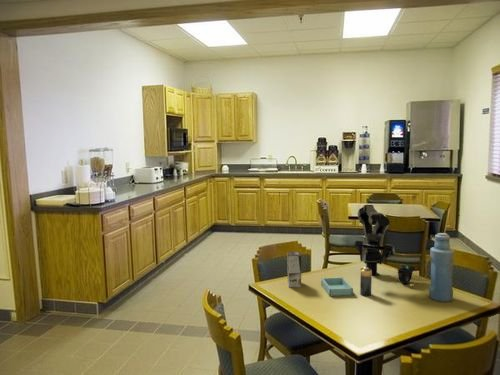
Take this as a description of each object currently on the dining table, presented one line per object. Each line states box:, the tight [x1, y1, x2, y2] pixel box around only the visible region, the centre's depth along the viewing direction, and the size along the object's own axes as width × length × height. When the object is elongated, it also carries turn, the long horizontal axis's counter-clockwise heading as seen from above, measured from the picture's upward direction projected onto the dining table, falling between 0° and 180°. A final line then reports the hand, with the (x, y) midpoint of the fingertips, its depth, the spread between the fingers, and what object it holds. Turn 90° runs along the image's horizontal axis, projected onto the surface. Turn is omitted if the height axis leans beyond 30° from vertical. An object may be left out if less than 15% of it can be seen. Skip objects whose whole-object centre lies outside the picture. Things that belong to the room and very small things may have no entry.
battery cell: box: [359, 266, 373, 297], centre depth 187 cm, size 5×5×13 cm
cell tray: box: [320, 276, 354, 297], centre depth 193 cm, size 16×11×4 cm
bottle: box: [428, 232, 455, 303], centre depth 180 cm, size 10×10×30 cm
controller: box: [397, 264, 416, 285], centre depth 202 cm, size 4×12×10 cm, turn 132°
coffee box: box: [286, 250, 302, 288], centre depth 201 cm, size 9×6×16 cm
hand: (370, 262), depth 193 cm, fingers open, 9 cm apart
